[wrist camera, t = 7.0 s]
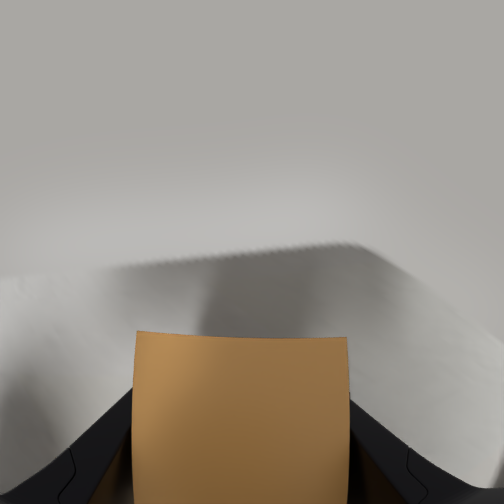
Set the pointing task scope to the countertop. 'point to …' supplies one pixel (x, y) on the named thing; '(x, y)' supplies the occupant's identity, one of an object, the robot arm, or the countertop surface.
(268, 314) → the countertop surface
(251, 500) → the block
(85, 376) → the countertop surface
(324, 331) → the countertop surface
